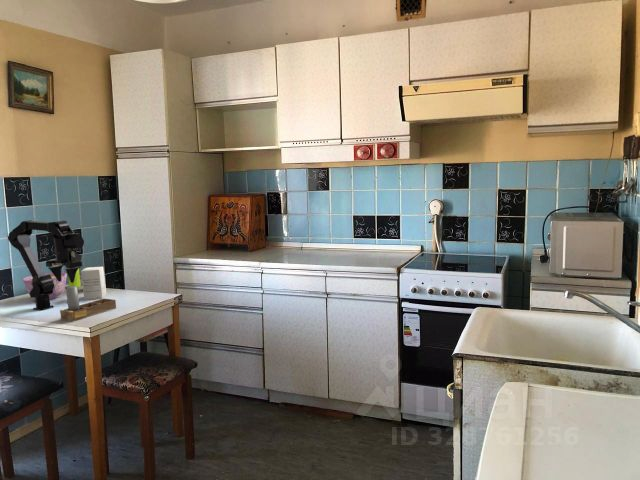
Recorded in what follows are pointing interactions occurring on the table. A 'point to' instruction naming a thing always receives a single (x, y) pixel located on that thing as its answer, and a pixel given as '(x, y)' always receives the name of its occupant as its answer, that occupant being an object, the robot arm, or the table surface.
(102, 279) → the supplement box
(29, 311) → the table surface
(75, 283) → the soap dispenser
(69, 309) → the plug
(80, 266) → the robot arm
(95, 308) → the rack
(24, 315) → the table surface
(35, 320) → the table surface
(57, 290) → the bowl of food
